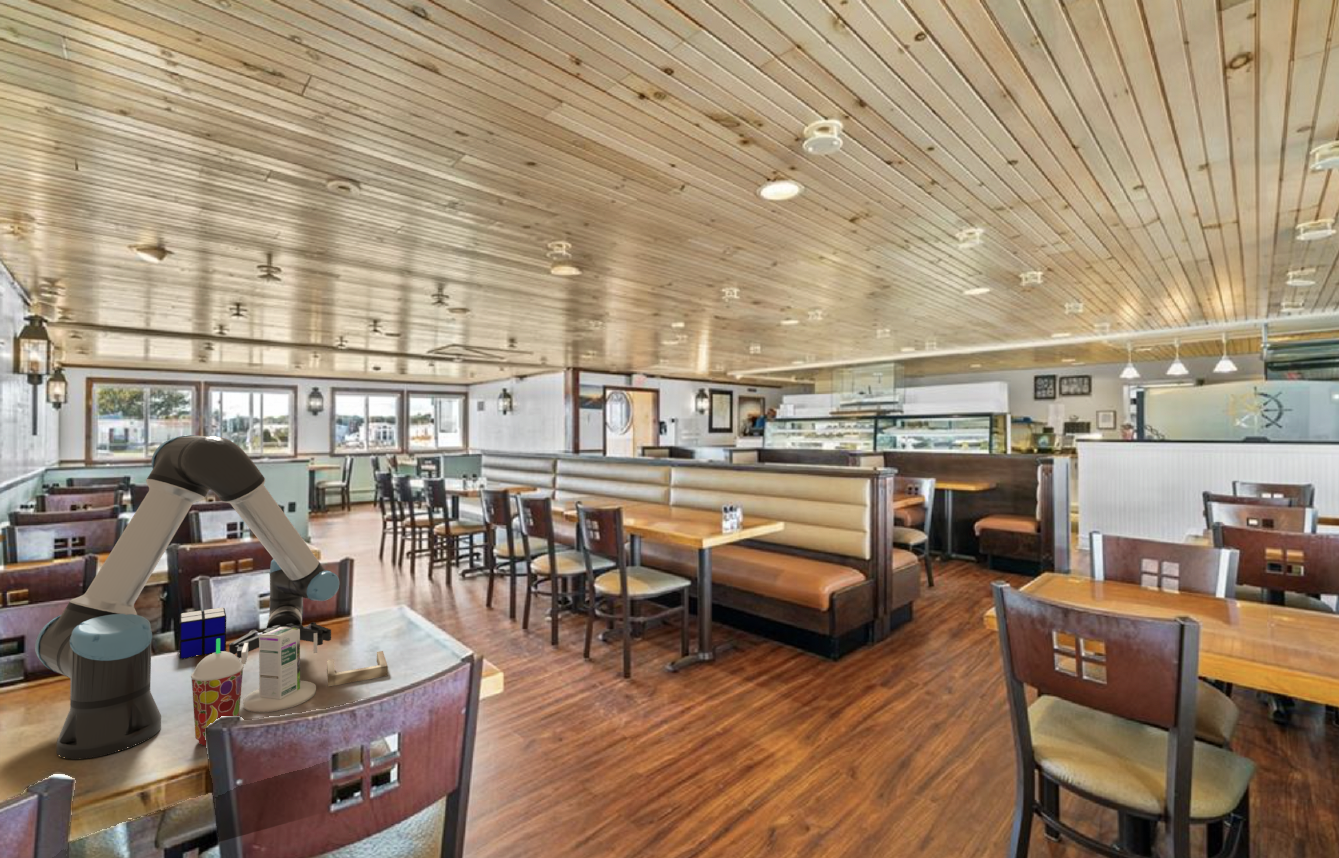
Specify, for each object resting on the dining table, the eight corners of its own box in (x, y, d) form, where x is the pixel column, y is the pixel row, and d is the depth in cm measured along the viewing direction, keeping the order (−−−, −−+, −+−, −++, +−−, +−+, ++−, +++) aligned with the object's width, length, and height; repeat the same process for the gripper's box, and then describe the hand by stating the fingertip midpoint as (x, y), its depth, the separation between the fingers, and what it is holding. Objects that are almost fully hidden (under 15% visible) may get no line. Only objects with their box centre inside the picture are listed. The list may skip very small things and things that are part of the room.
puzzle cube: (179, 660, 158) (179, 622, 158) (179, 649, 166) (179, 613, 166) (226, 651, 164) (226, 615, 164) (224, 641, 172) (224, 606, 172)
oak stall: (327, 686, 143) (328, 676, 143) (327, 669, 153) (327, 660, 153) (387, 675, 150) (387, 665, 150) (382, 660, 159) (383, 651, 159)
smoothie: (201, 731, 121) (202, 633, 121) (249, 725, 124) (250, 630, 124) (181, 753, 113) (183, 648, 113) (233, 746, 116) (234, 644, 116)
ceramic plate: (239, 718, 127) (239, 713, 127) (246, 692, 139) (246, 688, 139) (315, 703, 134) (315, 699, 134) (315, 680, 146) (315, 676, 146)
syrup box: (279, 700, 133) (280, 636, 133) (257, 697, 134) (258, 633, 134) (300, 689, 139) (301, 627, 139) (279, 687, 140) (279, 625, 140)
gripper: (339, 632, 159) (343, 658, 140) (223, 648, 146) (210, 680, 128) (340, 603, 159) (343, 627, 140) (224, 618, 146) (211, 645, 128)
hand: (280, 652), depth 134 cm, fingers open, 13 cm apart
